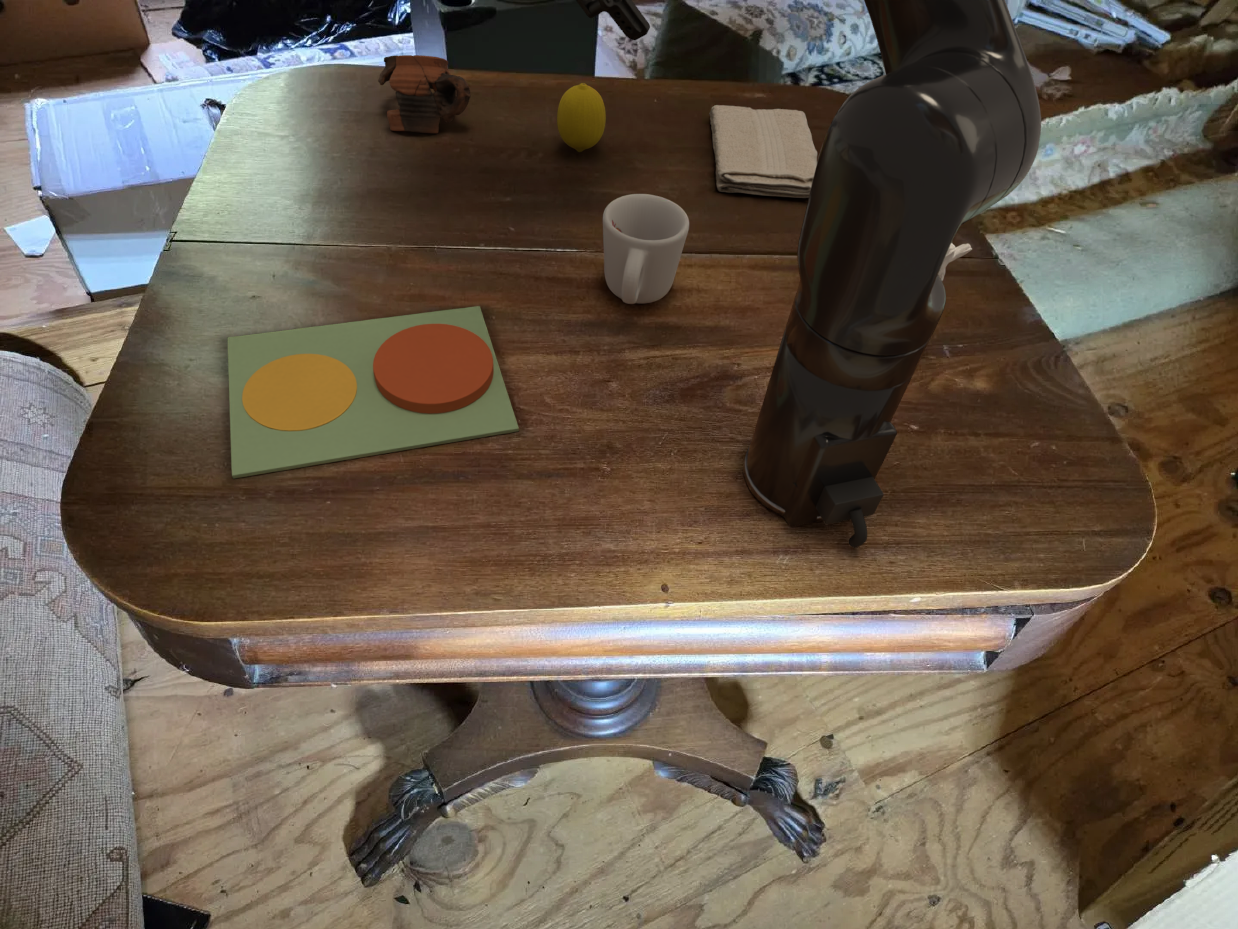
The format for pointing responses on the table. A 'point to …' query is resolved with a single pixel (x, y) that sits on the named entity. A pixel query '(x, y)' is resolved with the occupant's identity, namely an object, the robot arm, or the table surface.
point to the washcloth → (762, 151)
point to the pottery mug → (423, 92)
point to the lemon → (581, 117)
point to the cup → (642, 246)
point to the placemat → (363, 390)
